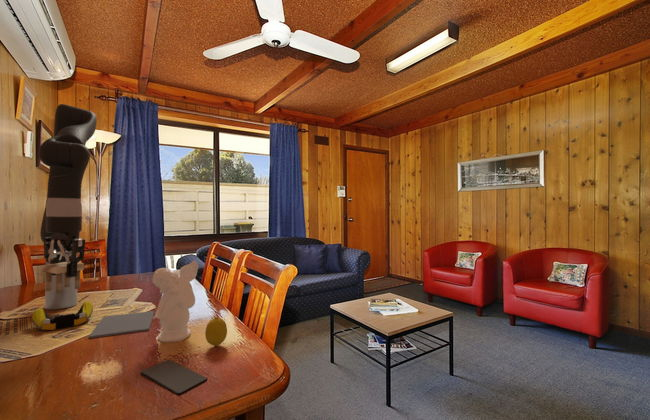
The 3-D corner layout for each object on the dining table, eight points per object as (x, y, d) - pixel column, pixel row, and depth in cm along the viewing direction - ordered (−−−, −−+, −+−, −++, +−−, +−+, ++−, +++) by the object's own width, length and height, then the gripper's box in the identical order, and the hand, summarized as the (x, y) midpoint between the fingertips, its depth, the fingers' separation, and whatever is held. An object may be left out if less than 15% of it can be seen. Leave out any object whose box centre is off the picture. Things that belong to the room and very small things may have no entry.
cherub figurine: (150, 345, 83) (150, 264, 83) (157, 329, 95) (156, 258, 95) (199, 338, 88) (198, 261, 88) (199, 323, 99) (199, 255, 99)
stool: (41, 291, 82) (42, 265, 82) (68, 285, 88) (69, 261, 88) (56, 293, 80) (57, 266, 80) (83, 288, 86) (84, 263, 86)
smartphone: (179, 394, 60) (139, 371, 69) (178, 398, 60) (139, 375, 69) (208, 378, 66) (169, 358, 74) (208, 382, 66) (169, 362, 74)
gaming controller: (32, 326, 96) (31, 335, 89) (32, 308, 96) (31, 316, 89) (91, 315, 107) (95, 323, 99) (92, 299, 107) (95, 306, 99)
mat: (103, 318, 103) (103, 316, 103) (154, 312, 110) (154, 310, 110) (88, 338, 87) (88, 336, 87) (149, 330, 93) (149, 328, 93)
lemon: (214, 353, 79) (214, 322, 79) (200, 348, 82) (201, 318, 82) (231, 345, 83) (231, 316, 83) (217, 340, 86) (218, 312, 86)
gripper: (96, 215, 85) (95, 275, 85) (63, 214, 90) (62, 271, 90) (65, 215, 78) (64, 281, 78) (31, 214, 83) (30, 276, 83)
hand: (63, 275), depth 84 cm, fingers closed on stool, 6 cm apart
